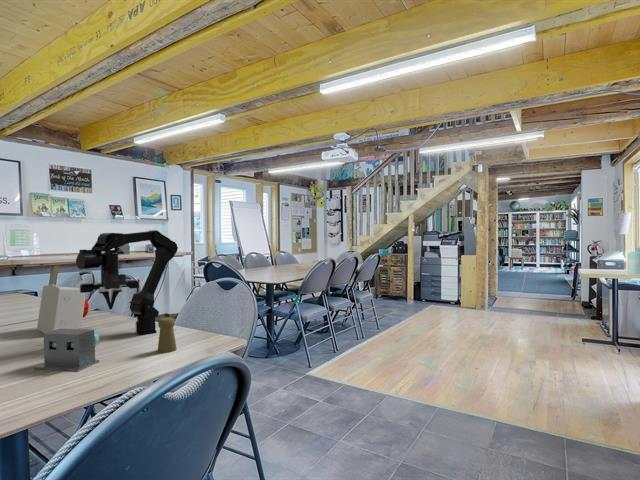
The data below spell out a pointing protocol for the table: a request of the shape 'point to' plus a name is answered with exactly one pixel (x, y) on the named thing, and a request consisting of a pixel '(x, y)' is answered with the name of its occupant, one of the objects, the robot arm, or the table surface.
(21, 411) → the table surface
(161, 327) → the olive tapered figurine
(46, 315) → the electrical switch box
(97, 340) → the popped knob
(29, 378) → the table surface
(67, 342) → the mount
